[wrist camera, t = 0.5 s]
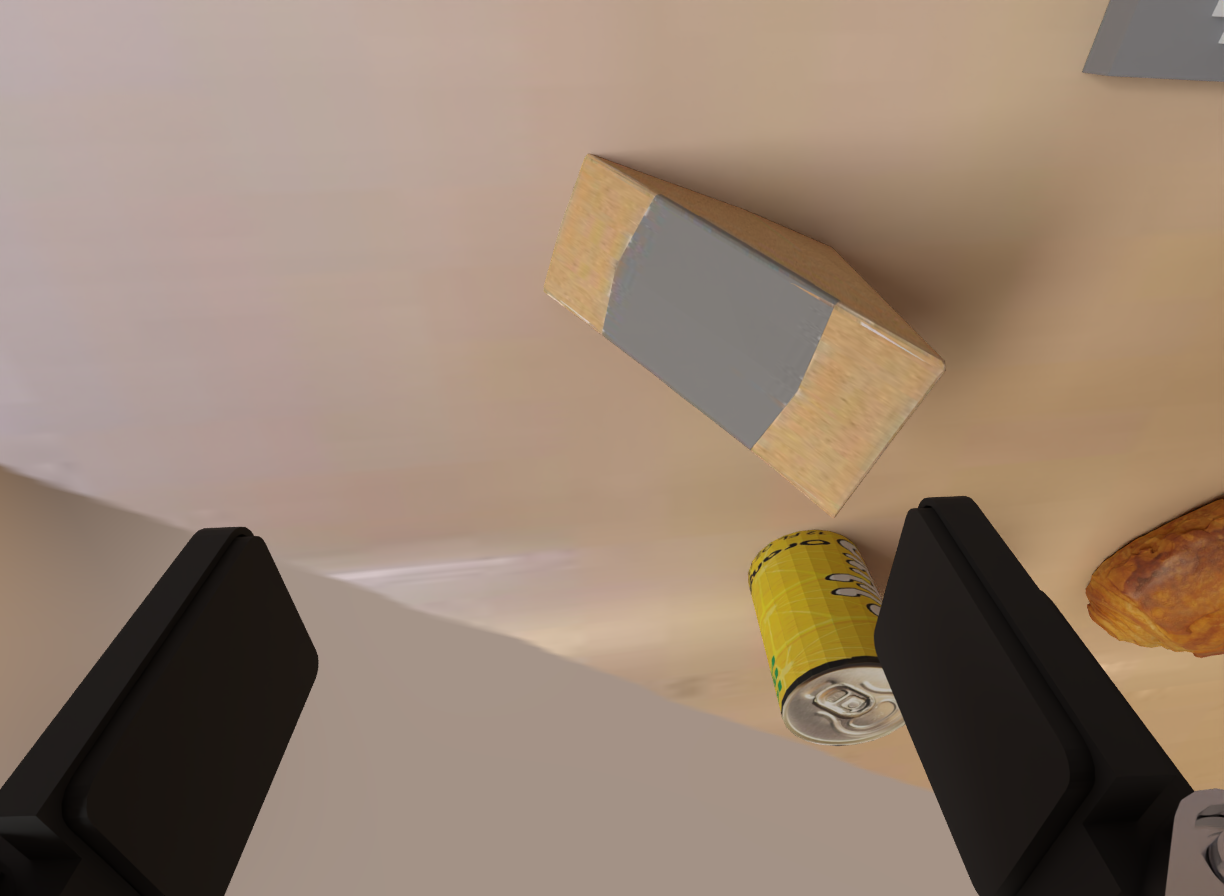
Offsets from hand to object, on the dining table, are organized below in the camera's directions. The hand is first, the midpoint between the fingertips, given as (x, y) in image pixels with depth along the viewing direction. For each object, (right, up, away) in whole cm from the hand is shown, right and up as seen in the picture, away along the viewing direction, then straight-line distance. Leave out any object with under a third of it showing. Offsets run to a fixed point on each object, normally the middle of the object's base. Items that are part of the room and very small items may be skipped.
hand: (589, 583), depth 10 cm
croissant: (+46, -7, +42) cm, 63 cm away
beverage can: (+16, -8, +42) cm, 46 cm away
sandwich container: (+5, +13, +28) cm, 31 cm away
